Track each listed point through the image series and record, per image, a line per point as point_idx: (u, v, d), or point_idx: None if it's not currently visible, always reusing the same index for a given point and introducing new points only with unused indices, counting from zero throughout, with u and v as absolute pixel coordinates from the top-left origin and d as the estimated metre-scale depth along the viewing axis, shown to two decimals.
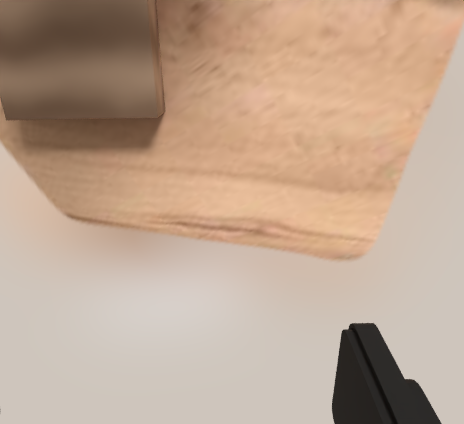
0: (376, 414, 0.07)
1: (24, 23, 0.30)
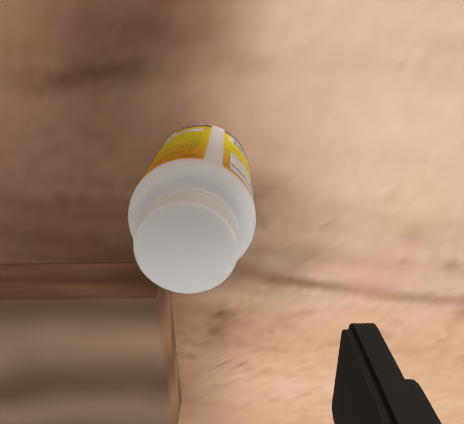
0: (376, 414, 0.07)
1: (12, 372, 0.25)
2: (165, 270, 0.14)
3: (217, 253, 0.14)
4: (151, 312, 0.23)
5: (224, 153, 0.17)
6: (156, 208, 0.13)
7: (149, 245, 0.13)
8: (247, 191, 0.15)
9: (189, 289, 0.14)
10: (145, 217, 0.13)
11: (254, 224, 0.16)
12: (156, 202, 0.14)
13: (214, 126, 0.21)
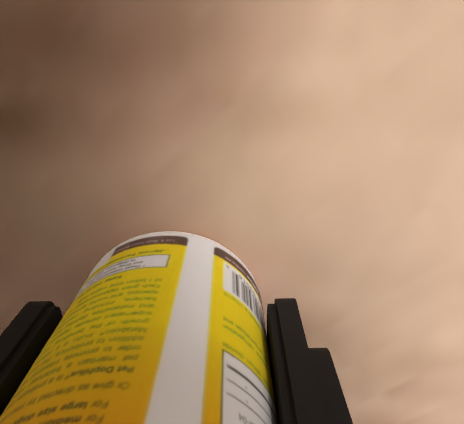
0: (277, 372, 0.08)
1: None
2: None
3: None
4: None
5: (206, 389, 0.06)
6: None
7: None
8: None
9: None
10: None
11: None
12: None
13: (193, 239, 0.10)
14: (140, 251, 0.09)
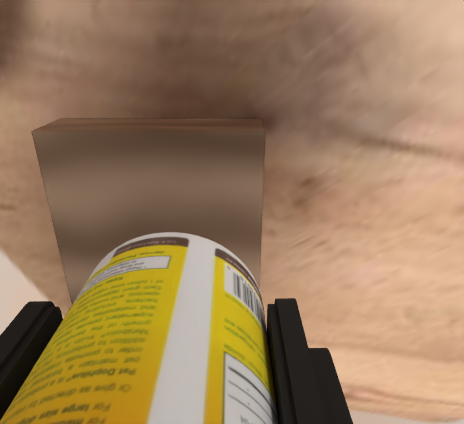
0: (277, 372, 0.08)
1: (106, 222, 0.24)
2: None
3: None
4: (258, 148, 0.22)
5: (207, 392, 0.06)
6: None
7: None
8: None
9: None
10: None
11: None
12: None
13: (194, 240, 0.10)
14: (141, 252, 0.09)
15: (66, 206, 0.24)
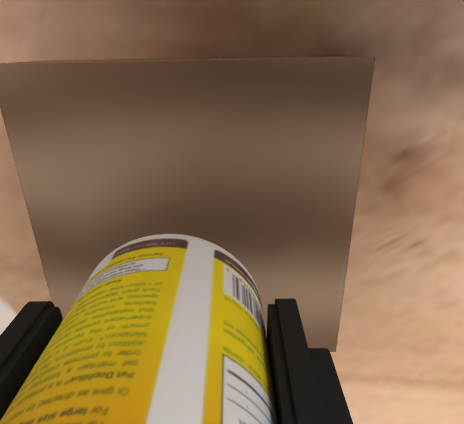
0: (277, 372, 0.08)
1: (112, 215, 0.16)
2: None
3: None
4: (360, 89, 0.14)
5: (206, 395, 0.06)
6: None
7: None
8: None
9: None
10: None
11: None
12: None
13: (193, 242, 0.10)
14: (140, 254, 0.09)
15: (50, 191, 0.15)
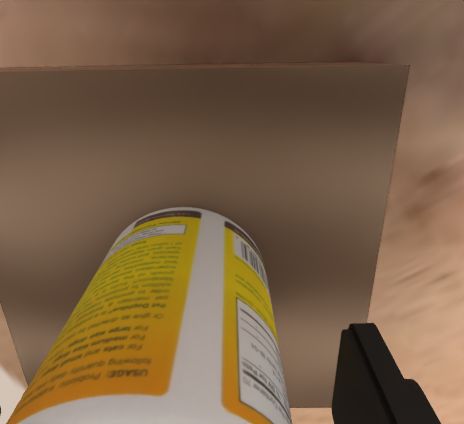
0: (376, 414, 0.07)
1: (86, 255, 0.13)
2: None
3: None
4: (391, 103, 0.11)
5: (224, 323, 0.07)
6: None
7: None
8: None
9: None
10: None
11: None
12: None
13: (205, 213, 0.11)
14: (160, 222, 0.11)
15: (8, 226, 0.13)
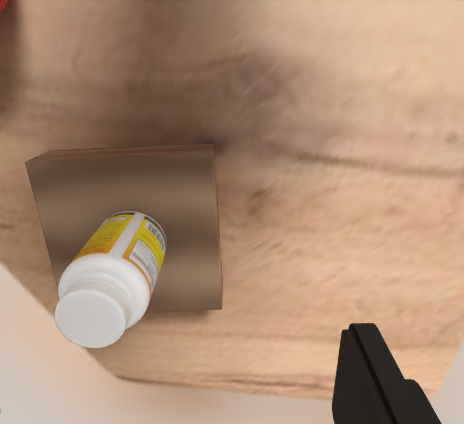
0: (376, 414, 0.07)
1: (88, 234, 0.30)
2: (77, 333, 0.21)
3: (110, 321, 0.20)
4: (207, 167, 0.28)
5: (130, 243, 0.24)
6: (68, 293, 0.20)
7: (65, 317, 0.20)
8: (139, 274, 0.22)
9: (95, 345, 0.21)
10: (61, 299, 0.20)
11: (146, 296, 0.22)
12: (70, 287, 0.20)
13: (136, 213, 0.28)
14: (117, 216, 0.27)
15: (55, 222, 0.29)
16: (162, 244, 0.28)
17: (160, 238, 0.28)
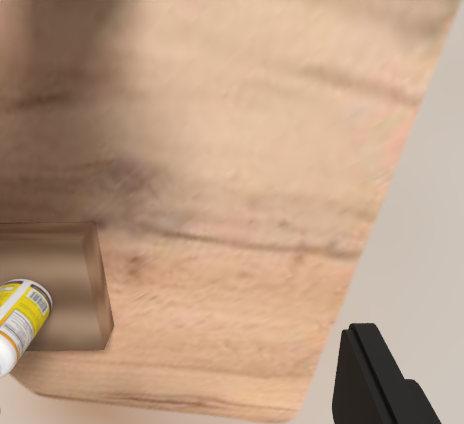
0: (376, 414, 0.07)
1: None
2: None
3: None
4: (79, 249, 0.36)
5: (5, 315, 0.32)
6: None
7: None
8: (6, 341, 0.31)
9: None
10: None
11: (12, 357, 0.31)
12: None
13: (25, 281, 0.36)
14: (8, 285, 0.36)
15: None
16: (43, 306, 0.36)
17: (42, 302, 0.36)
